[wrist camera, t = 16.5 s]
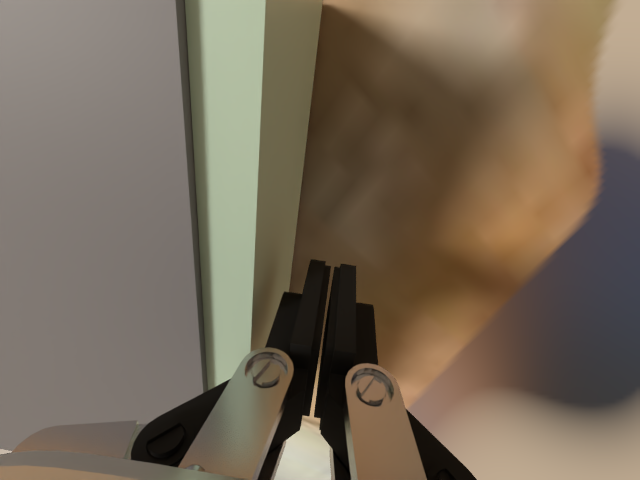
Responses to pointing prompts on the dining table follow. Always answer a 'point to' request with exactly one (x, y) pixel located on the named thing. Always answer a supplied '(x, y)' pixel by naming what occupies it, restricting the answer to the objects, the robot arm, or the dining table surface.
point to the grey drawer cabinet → (96, 215)
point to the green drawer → (248, 161)
